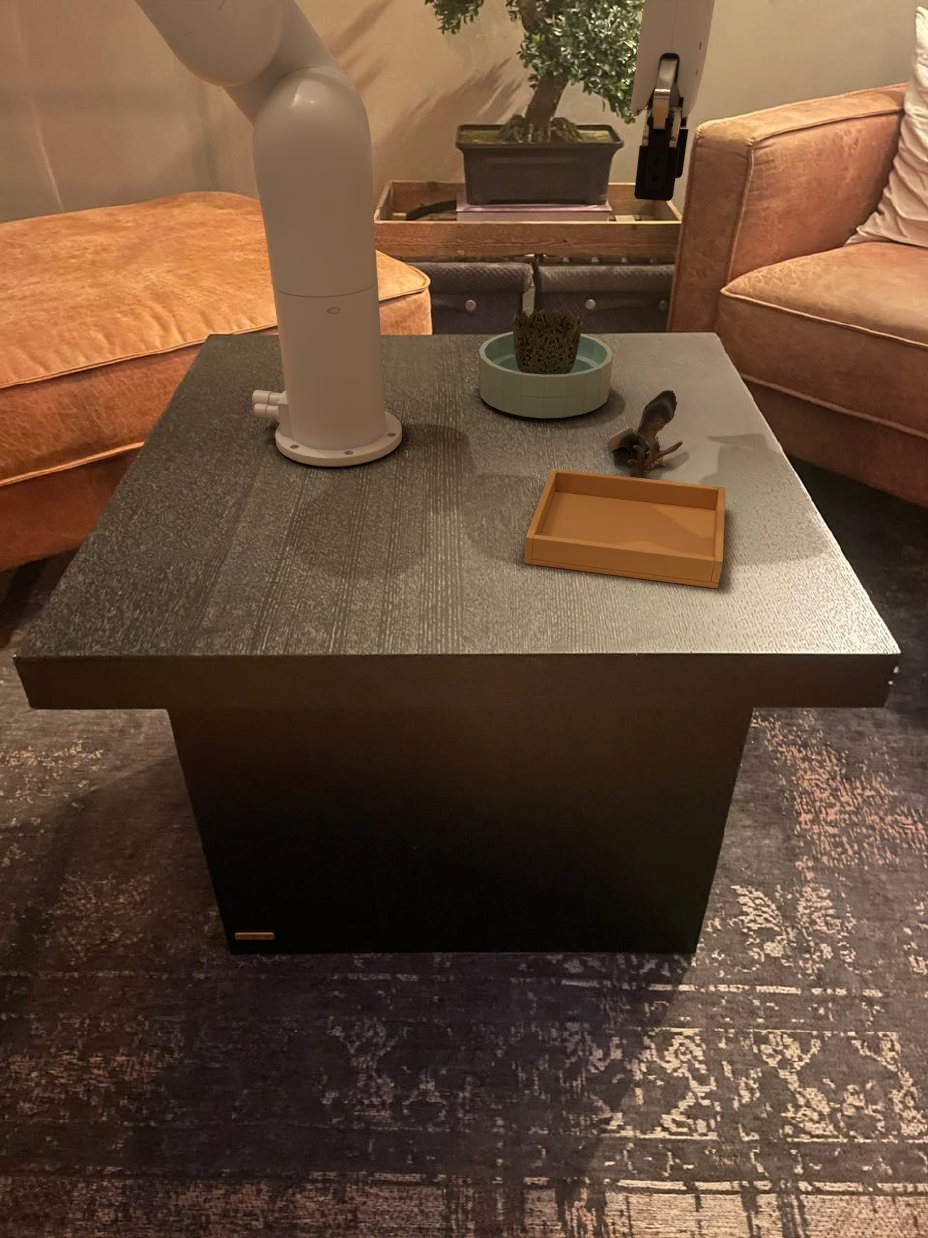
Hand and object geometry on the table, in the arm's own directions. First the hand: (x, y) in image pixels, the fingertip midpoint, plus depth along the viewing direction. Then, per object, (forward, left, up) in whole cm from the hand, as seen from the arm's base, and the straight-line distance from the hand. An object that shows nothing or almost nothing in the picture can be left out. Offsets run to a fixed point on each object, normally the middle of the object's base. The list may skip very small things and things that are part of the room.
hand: (659, 187), depth 81 cm
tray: (+2, -22, -23) cm, 32 cm away
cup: (-10, +6, -23) cm, 26 cm away
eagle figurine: (+2, -8, -23) cm, 24 cm away
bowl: (-10, +6, -23) cm, 26 cm away
